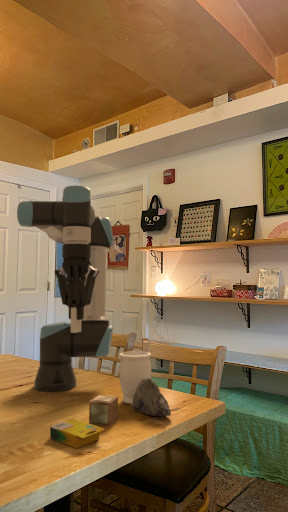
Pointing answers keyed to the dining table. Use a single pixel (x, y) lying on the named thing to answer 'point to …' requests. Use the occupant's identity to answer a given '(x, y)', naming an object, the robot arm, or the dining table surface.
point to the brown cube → (103, 410)
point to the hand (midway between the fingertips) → (76, 331)
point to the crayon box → (75, 433)
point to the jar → (133, 372)
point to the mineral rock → (150, 399)
